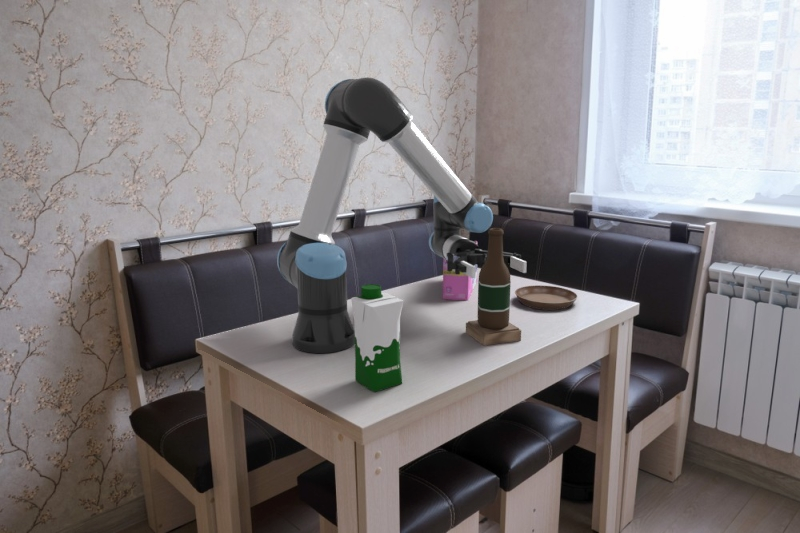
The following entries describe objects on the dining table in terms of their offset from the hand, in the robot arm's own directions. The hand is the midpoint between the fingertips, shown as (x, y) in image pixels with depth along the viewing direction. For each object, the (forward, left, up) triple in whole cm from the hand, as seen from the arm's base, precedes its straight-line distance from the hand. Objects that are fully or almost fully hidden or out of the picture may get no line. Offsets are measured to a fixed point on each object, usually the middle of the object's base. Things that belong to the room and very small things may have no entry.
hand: (500, 270), depth 150 cm
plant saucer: (+28, +23, -18) cm, 40 cm away
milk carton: (-35, -13, -18) cm, 41 cm away
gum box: (+11, +44, -18) cm, 49 cm away
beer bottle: (0, +3, -15) cm, 15 cm away
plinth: (0, +3, -18) cm, 18 cm away
